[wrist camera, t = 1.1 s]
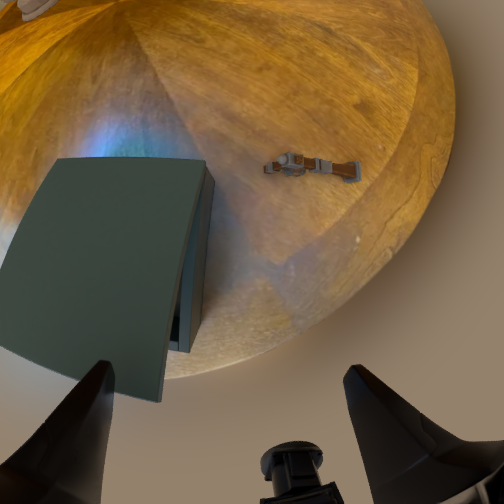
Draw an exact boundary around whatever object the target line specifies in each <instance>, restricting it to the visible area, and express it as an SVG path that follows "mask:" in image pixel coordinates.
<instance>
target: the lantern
mask: <svg viewBox="0 0 504 504" xmlns="http://www.w3.org/2000/svg"><path fill="white" fill-rule="evenodd" d="M1 1H3V2H6V3H8V2H13V1H16V0H1ZM58 1H59V0H18V3H17V5H18V7H19V8H20V9H21V10H22V11H23V13H22V18H23V21H29V20H32V19H34V18H36V17H37V16H39V15H41V14H42V13H44V12H45V11H46V10H48V9H49V8H50V7H52V6H53V5H54V4H55V3H57V2H58Z"/></svg>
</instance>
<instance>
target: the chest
mask: <svg viewBox="0 0 504 504" xmlns="http://www.w3.org/2000/svg"><path fill="white" fill-rule="evenodd" d="M214 185H215V181H214V179H213V177H212V176H211V174H210V172H209V170H208V168H207V167H206V171H205V175H204V179H203V183H202V186H201V190H200V194H199V198H198V202H197V206H196V210H195V214H194V218H193V222H192V227H191V231H190V235H189V240H188V244H187V249H186V253H185V258H184V263H183V268H182V273H181V278H180V283H179V288H178V293H177V298H176V304H175V310H174V315H173V321H172V327H171V333H170V340H169V346H168V350H172V351H179V352H185V353H190V350H191V348H192V345H193V343H194V340H195V337H196V335H197V332H198V330H199V327H200V324H201V310H202V297H203V285H204V274H205V263H206V253H207V244H208V234H209V226H210V217H211V209H212V201H213V193H214Z"/></svg>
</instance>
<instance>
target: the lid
mask: <svg viewBox="0 0 504 504" xmlns="http://www.w3.org/2000/svg"><path fill="white" fill-rule="evenodd" d="M205 171H206V161H204V160H190V159H174V158H151V157H84V158H62V159H57V161H56V162H55V163H54V165H53V166H52V168H51V170H50V171H49V173H48V174H47V176H46V177H45V179H44V181H43V182H42V184H41V186H40V187H39V189H38V191H37V192H36V194H35V196H34V198H33V199H32V201H31V203H30V205H29V207H28V209H27V211H26V212H25V214H24V216H23V218H22V220H21V222H20V224H19V227H18V229H17V231H16V233H15V235H14V237H13V240H12V242H11V244H10V246H9V249H8V251H7V254H6V256H5V259H4V261H3V264H2V266H1V269H0V346H1V347H3V348H5V349H7V350H9V351H11V352H13V353H15V354H17V355H19V356H21V357H23V358H25V359H27V360H29V361H32V362H33V363H35V364H38V365H40V366H42V367H44V368H47V369H49V370H51V371H54V372H56V373H59V374H61V375H64V376H66V377H69V378H72V379H75V380H77V381H80V380H81V379H82V378H83V377H84V376H85V375H86V374H87V373H88V372H89V370H90V369H91V368H92V367H93V366H94V365H95V364H96V363H97V362H98V361H99V360H107V361H110V362H111V363H112V367H113V370H114V373H115V389H114V392H115V393H118V394H122V395H125V396H129V397H134V398H137V399H141V400H146V401H150V402H155V403H158V402H161V400H162V391H163V382H164V375H165V367H166V360H167V353H168V346H169V340H170V333H171V327H172V321H173V315H174V310H175V304H176V298H177V293H178V288H179V283H180V278H181V273H182V268H183V263H184V258H185V253H186V249H187V244H188V240H189V235H190V231H191V227H192V222H193V218H194V214H195V210H196V206H197V202H198V198H199V194H200V190H201V186H202V183H203V179H204V175H205Z"/></svg>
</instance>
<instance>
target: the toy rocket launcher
mask: <svg viewBox="0 0 504 504" xmlns="http://www.w3.org/2000/svg"><path fill="white" fill-rule="evenodd" d="M277 160H278V161H277V162H271V163H268V165H266V166H264V173H268V174H270V173H276V172H279V171H280V170H282V172H285V175H286V176H289V175H295V176H296V177H297V176H301V175H303V174H304V173H305V169H308V170H309V172H314V173H323V174H328V173H330V174H334V175H337V176H341V177H343V178H344V182H346V183H352V182H358V181H362V179H361V165H360V161H353V162H349V163H344V164H335V163H332V161H326V160H323V159H319V158H313V159H310V158H305V157H303V155H299V154H294V153H291V152H287V153H285V154H282V155H280V156H278V159H277Z"/></svg>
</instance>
